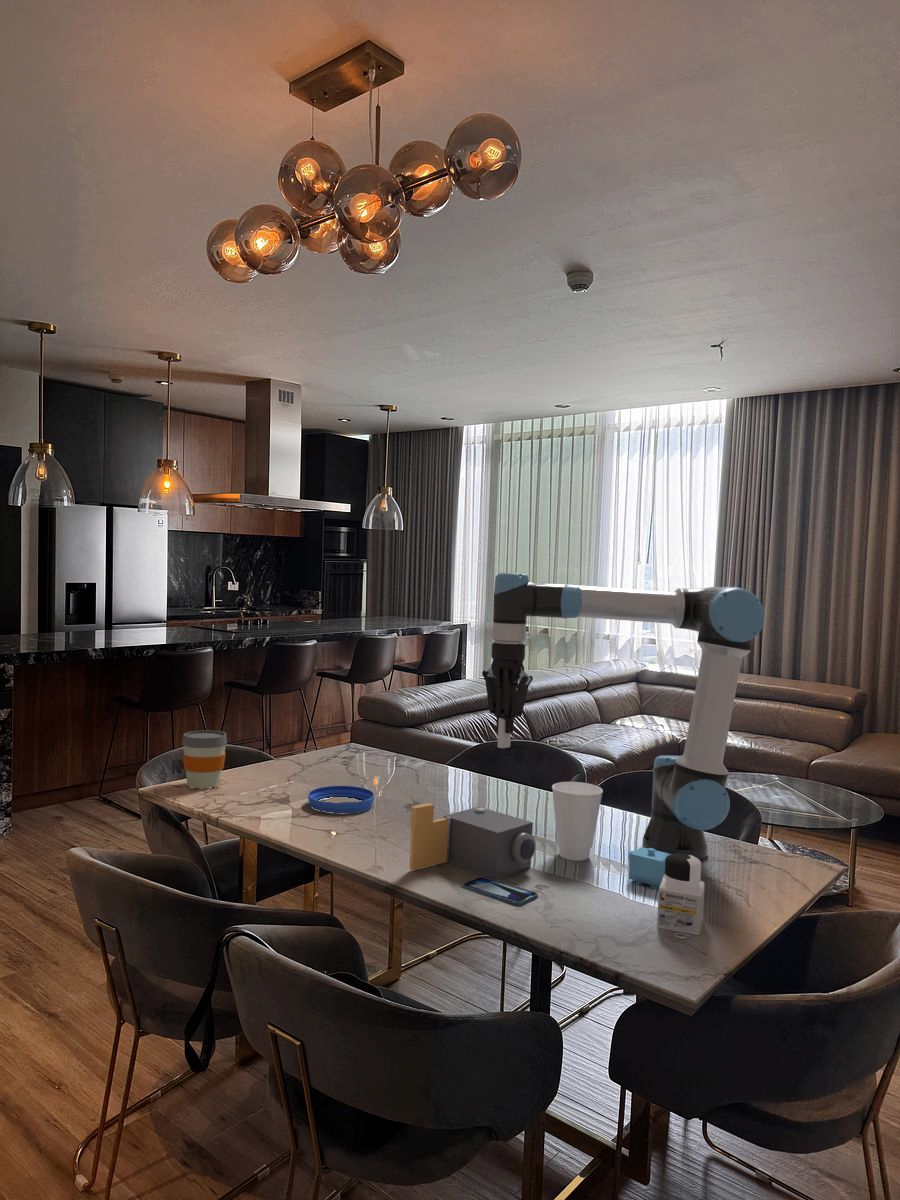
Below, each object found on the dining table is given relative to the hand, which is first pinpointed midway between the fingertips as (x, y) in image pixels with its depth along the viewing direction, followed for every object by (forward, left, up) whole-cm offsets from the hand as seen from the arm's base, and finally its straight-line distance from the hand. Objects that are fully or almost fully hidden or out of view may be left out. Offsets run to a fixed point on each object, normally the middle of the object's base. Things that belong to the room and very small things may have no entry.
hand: (503, 746), depth 187 cm
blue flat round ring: (+58, -2, -27) cm, 64 cm away
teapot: (-30, -16, -27) cm, 43 cm away
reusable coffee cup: (+99, +16, -27) cm, 104 cm away
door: (+8, +13, -26) cm, 31 cm away
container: (-44, -1, -27) cm, 51 cm away
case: (+1, +2, -26) cm, 26 cm away
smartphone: (-11, +13, -27) cm, 32 cm away
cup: (-8, -18, -27) cm, 33 cm away
